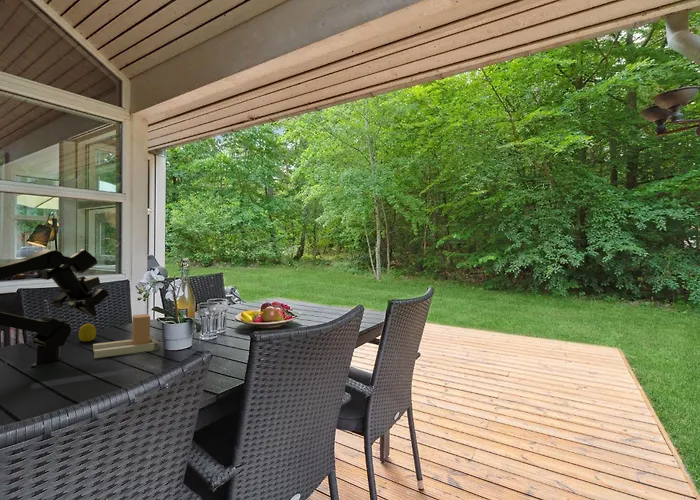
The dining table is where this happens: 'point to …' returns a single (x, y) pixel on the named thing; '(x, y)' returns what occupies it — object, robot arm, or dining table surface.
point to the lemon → (87, 332)
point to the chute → (123, 348)
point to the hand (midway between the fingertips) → (94, 315)
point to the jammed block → (140, 329)
